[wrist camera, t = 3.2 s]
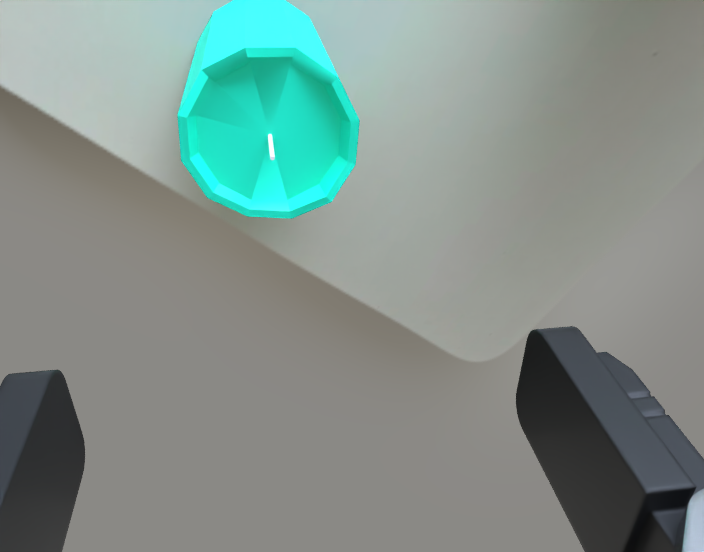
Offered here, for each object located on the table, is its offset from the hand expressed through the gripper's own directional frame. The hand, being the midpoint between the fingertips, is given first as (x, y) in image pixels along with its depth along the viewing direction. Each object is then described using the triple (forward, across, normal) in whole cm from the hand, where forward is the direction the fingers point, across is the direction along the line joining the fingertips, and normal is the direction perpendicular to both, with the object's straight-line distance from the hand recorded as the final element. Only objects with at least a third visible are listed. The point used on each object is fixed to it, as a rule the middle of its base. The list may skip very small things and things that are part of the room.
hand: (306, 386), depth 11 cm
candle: (+22, 0, 0) cm, 22 cm away
